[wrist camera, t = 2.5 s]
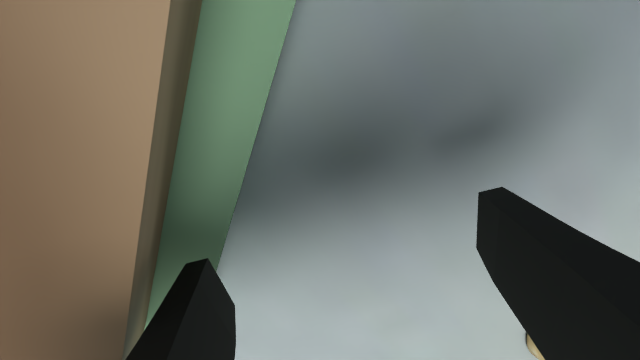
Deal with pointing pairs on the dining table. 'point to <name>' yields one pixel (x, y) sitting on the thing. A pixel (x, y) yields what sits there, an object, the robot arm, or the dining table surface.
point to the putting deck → (217, 130)
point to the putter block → (86, 168)
